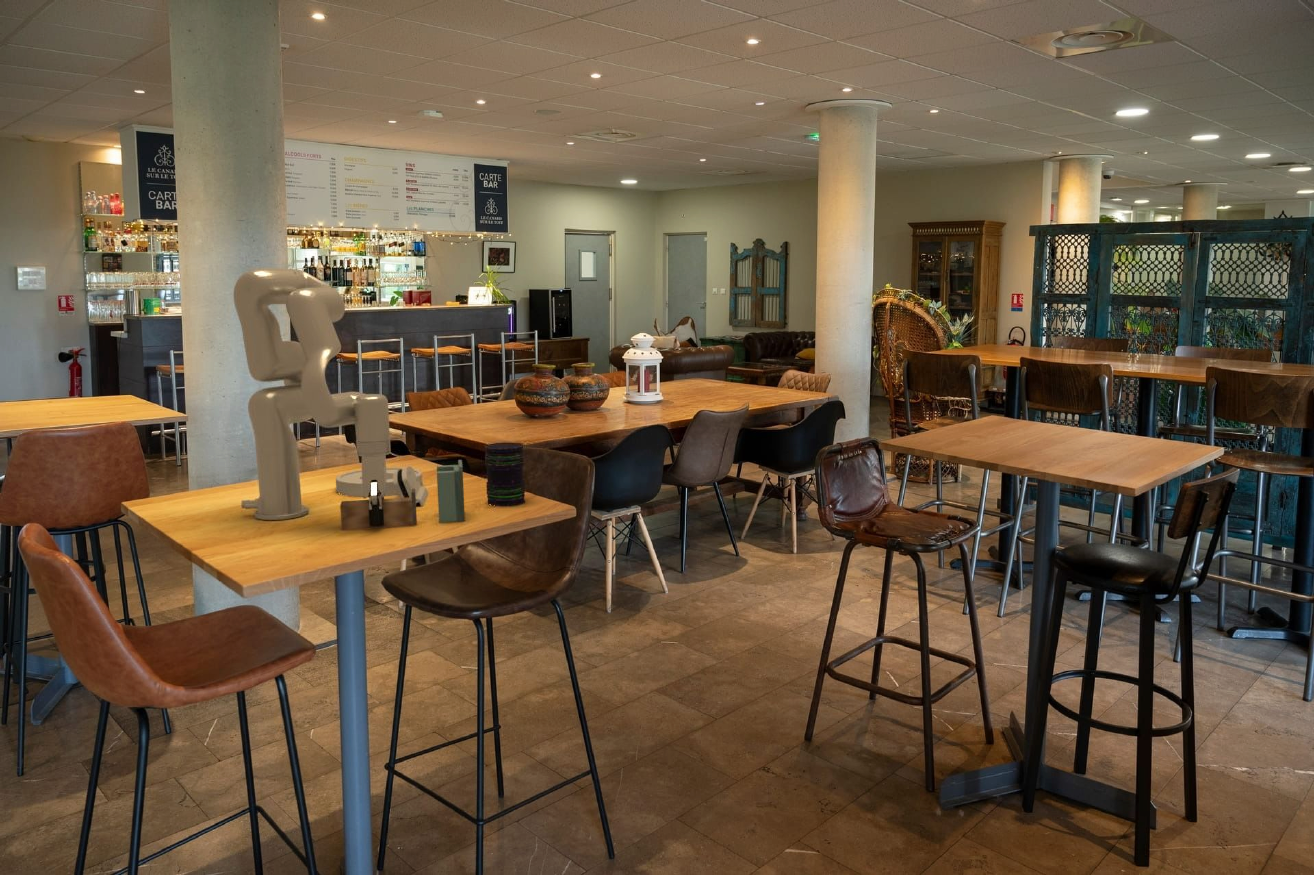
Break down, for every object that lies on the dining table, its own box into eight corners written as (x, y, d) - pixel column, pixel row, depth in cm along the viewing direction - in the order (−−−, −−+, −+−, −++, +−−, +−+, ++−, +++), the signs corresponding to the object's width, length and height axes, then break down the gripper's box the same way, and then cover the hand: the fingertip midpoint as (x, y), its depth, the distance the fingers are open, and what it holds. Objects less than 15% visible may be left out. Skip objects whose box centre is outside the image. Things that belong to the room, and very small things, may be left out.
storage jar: (499, 508, 245) (496, 450, 242) (479, 502, 252) (477, 445, 250) (532, 502, 251) (531, 445, 249) (512, 496, 258) (510, 441, 256)
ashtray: (320, 490, 271) (319, 476, 270) (393, 477, 288) (392, 464, 287) (365, 502, 255) (364, 487, 255) (439, 488, 272) (438, 473, 272)
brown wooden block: (341, 530, 225) (339, 496, 224) (343, 526, 229) (341, 492, 227) (416, 525, 228) (414, 492, 227) (416, 521, 232) (415, 488, 231)
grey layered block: (423, 506, 248) (407, 471, 246) (405, 513, 247) (389, 478, 245) (428, 493, 264) (414, 459, 262) (412, 499, 264) (397, 466, 262)
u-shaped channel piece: (439, 522, 231) (436, 468, 229) (439, 513, 240) (436, 461, 238) (464, 521, 232) (462, 466, 230) (463, 512, 241) (461, 459, 239)
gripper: (359, 442, 233) (364, 514, 236) (353, 454, 216) (358, 532, 219) (392, 441, 235) (395, 512, 238) (388, 453, 218) (392, 530, 221)
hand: (377, 521), depth 228 cm, fingers open, 7 cm apart
